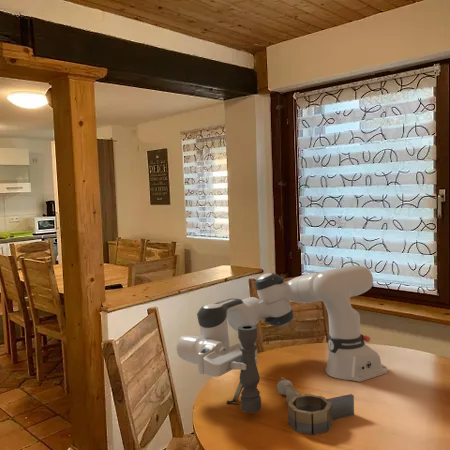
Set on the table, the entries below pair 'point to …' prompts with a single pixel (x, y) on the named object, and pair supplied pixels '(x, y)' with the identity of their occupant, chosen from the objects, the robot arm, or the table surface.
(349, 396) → the octagonal collar with flanges
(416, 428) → the table surface
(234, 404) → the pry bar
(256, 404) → the candle holder
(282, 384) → the garlic
